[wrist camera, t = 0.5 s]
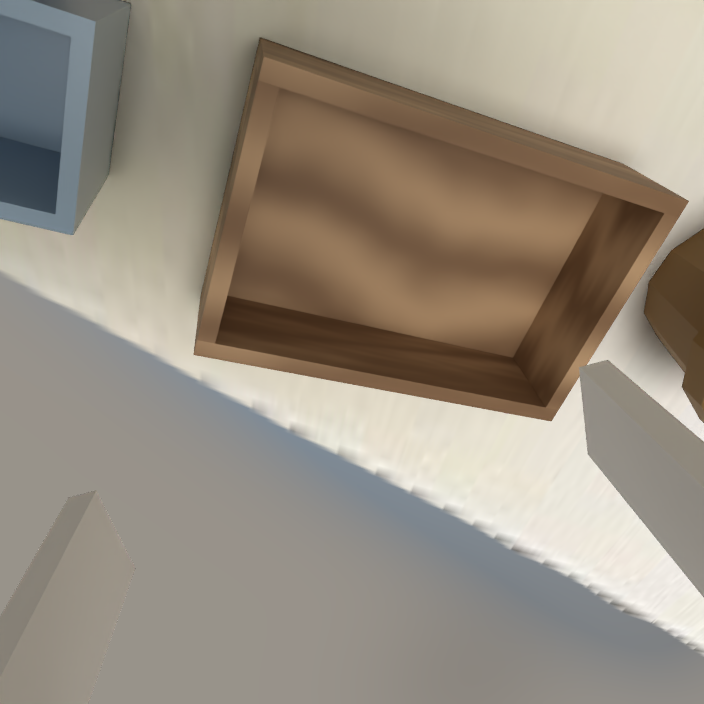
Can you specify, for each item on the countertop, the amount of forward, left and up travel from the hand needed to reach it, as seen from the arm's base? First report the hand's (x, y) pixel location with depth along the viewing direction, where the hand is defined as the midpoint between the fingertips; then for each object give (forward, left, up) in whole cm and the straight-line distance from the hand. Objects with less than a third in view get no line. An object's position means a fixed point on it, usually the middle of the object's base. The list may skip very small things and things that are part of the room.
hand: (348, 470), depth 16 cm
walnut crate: (+1, +8, -25) cm, 26 cm away
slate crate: (-2, -15, -25) cm, 29 cm away
